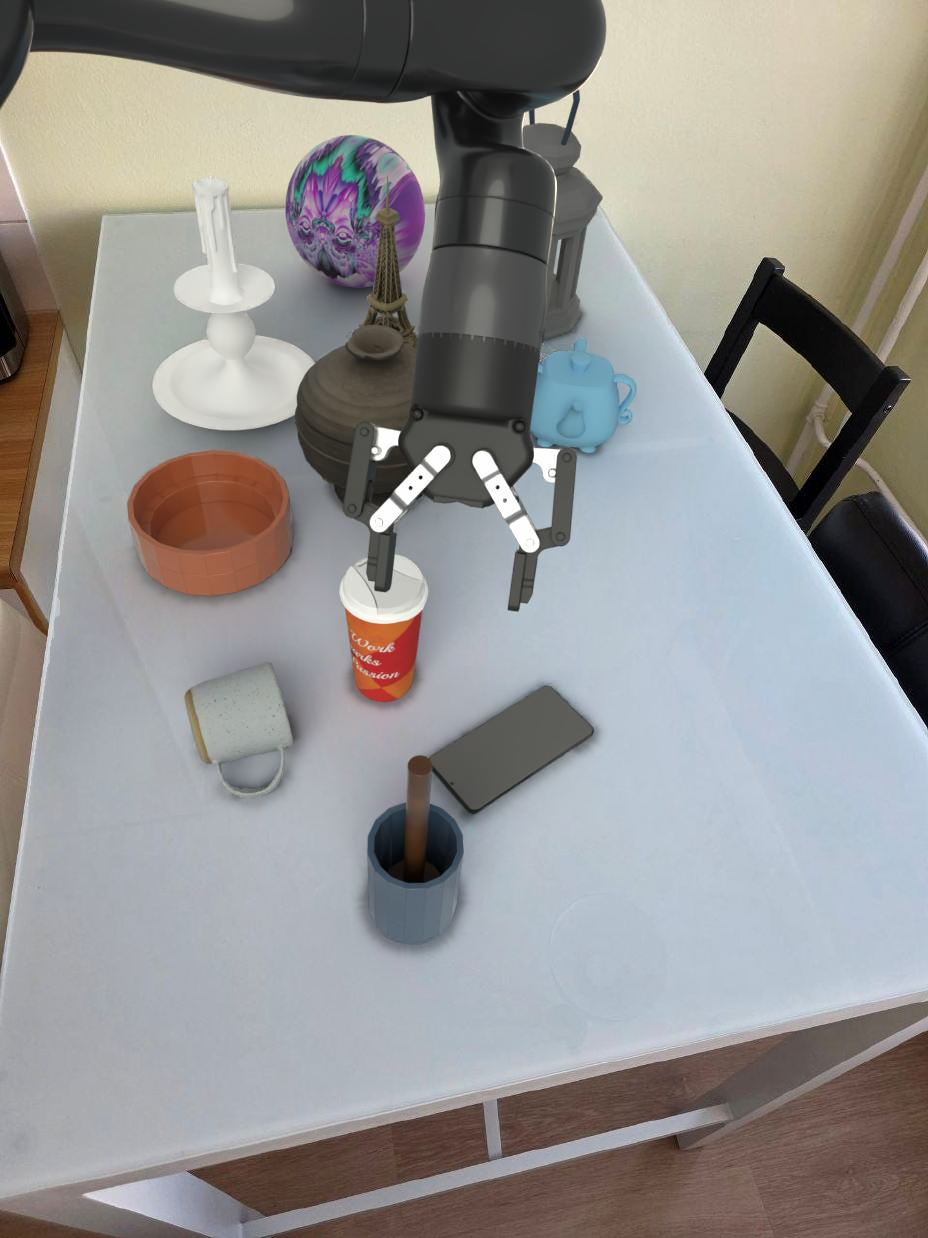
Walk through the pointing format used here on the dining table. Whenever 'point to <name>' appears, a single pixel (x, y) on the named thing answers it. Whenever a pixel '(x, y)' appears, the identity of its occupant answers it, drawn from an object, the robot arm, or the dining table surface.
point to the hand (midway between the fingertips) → (447, 600)
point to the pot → (356, 405)
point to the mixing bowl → (211, 522)
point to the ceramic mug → (239, 721)
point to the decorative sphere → (352, 208)
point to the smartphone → (509, 748)
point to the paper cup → (384, 628)
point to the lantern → (564, 217)
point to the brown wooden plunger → (416, 825)
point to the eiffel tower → (389, 282)
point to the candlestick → (227, 336)
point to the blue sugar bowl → (578, 400)
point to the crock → (413, 906)
